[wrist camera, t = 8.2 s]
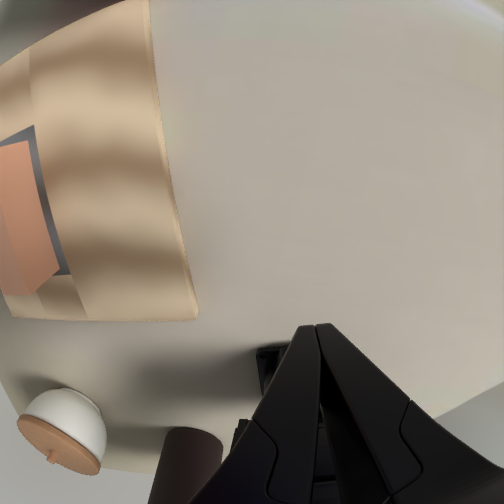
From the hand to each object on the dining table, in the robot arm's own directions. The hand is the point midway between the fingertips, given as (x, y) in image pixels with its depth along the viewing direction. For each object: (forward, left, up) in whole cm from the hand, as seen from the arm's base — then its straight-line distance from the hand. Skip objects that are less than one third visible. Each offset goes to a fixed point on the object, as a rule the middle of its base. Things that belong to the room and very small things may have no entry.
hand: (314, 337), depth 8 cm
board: (+4, +17, -12) cm, 21 cm away
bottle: (-26, +12, -12) cm, 31 cm away
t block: (+3, +22, -11) cm, 24 cm away
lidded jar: (-21, +26, -12) cm, 36 cm away
